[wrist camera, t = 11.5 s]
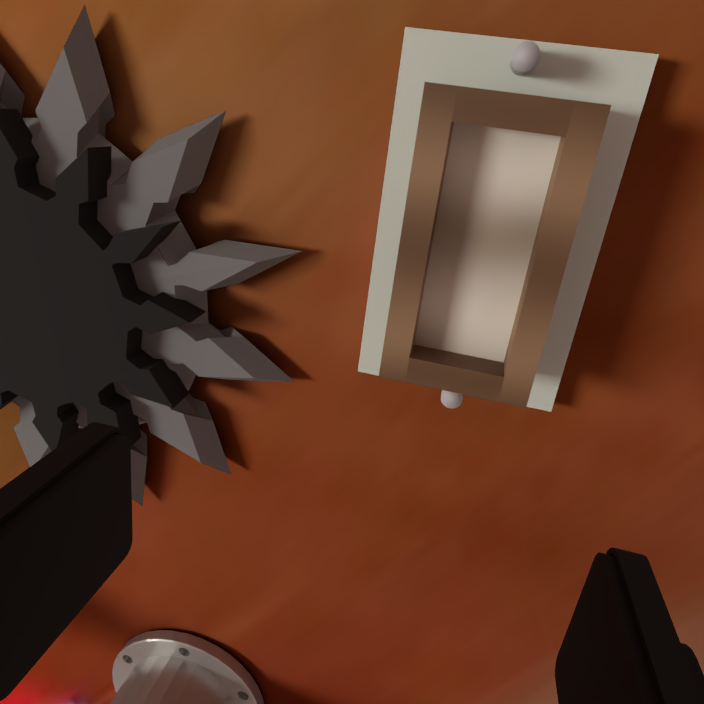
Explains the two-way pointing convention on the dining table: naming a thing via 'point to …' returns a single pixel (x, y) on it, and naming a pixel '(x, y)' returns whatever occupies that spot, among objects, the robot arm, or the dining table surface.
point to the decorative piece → (110, 274)
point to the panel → (524, 78)
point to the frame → (487, 237)
